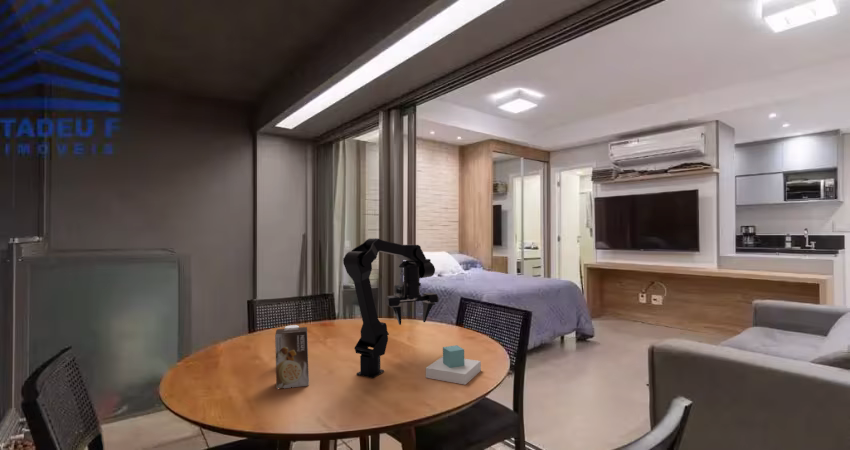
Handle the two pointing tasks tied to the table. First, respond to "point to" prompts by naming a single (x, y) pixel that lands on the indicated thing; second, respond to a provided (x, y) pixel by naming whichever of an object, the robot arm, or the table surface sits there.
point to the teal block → (453, 356)
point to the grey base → (453, 371)
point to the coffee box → (291, 357)
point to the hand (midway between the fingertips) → (412, 323)
